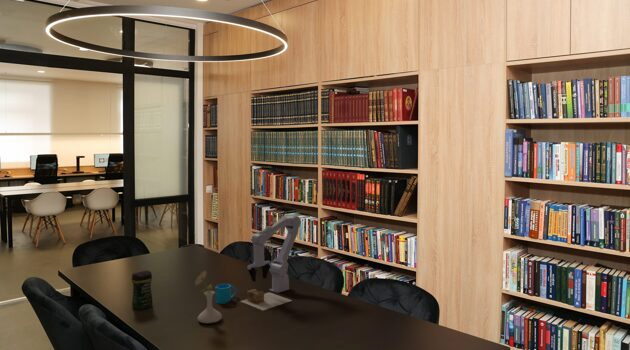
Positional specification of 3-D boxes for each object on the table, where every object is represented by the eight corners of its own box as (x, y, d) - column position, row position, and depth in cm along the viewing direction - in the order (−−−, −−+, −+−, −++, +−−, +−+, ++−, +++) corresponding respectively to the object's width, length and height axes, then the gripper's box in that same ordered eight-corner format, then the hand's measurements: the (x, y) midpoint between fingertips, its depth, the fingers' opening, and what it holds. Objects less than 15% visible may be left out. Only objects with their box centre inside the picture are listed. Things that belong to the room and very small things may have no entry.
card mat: (269, 293, 258) (269, 292, 258) (292, 301, 245) (292, 300, 245) (240, 302, 244) (240, 301, 243) (263, 311, 230) (263, 310, 230)
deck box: (264, 301, 243) (263, 292, 243) (256, 303, 239) (256, 294, 239) (254, 297, 249) (254, 288, 248) (247, 300, 245) (247, 291, 245)
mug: (220, 304, 240) (220, 289, 239) (213, 300, 246) (212, 285, 246) (240, 299, 248) (240, 285, 247) (232, 295, 254) (232, 281, 253)
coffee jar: (137, 311, 231) (136, 275, 230) (130, 307, 236) (128, 272, 235) (155, 306, 238) (154, 271, 237) (147, 302, 243) (146, 268, 242)
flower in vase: (212, 314, 227) (211, 264, 225) (227, 320, 219) (226, 268, 218) (189, 322, 217) (188, 270, 215) (204, 328, 209) (203, 275, 207)
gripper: (264, 251, 259) (264, 275, 260) (243, 256, 249) (244, 281, 250) (272, 253, 254) (272, 277, 255) (251, 258, 244) (252, 283, 245)
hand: (259, 279), depth 252 cm, fingers open, 7 cm apart
